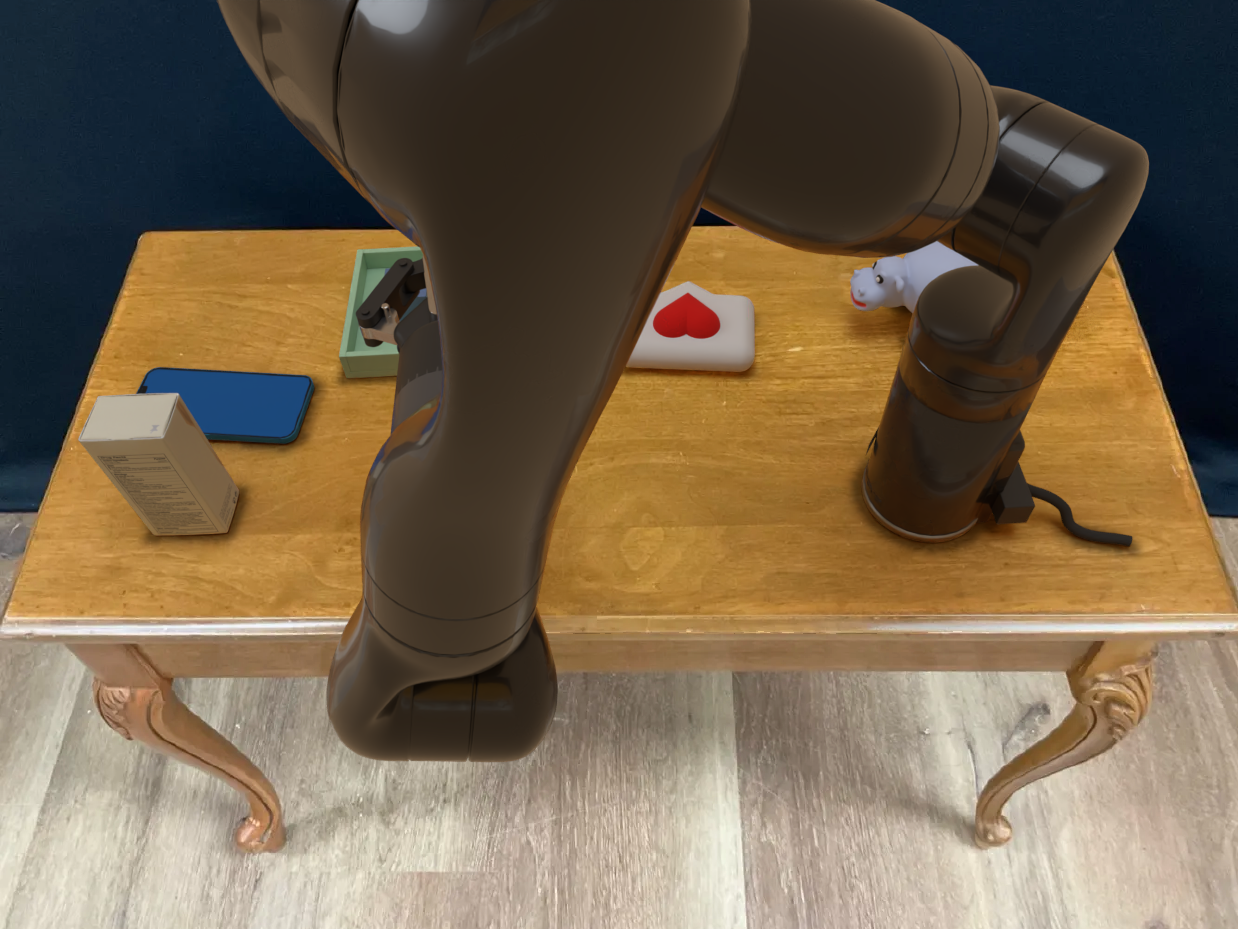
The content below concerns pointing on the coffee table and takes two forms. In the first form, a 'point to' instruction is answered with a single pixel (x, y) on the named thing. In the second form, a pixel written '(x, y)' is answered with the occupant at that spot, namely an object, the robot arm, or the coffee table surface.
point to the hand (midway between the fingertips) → (470, 226)
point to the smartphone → (237, 401)
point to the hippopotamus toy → (902, 277)
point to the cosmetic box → (161, 463)
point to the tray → (366, 276)
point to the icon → (697, 332)
